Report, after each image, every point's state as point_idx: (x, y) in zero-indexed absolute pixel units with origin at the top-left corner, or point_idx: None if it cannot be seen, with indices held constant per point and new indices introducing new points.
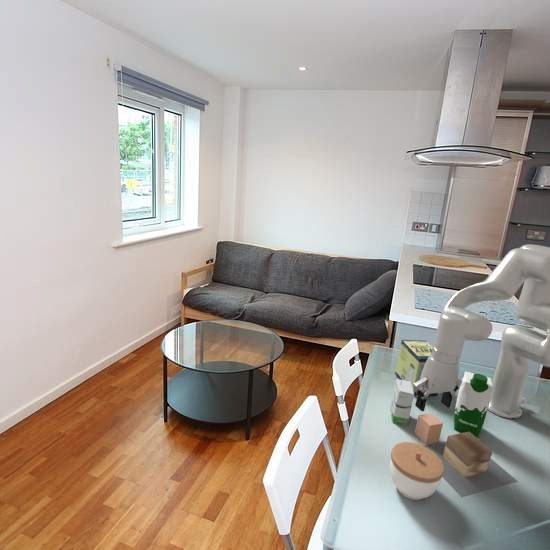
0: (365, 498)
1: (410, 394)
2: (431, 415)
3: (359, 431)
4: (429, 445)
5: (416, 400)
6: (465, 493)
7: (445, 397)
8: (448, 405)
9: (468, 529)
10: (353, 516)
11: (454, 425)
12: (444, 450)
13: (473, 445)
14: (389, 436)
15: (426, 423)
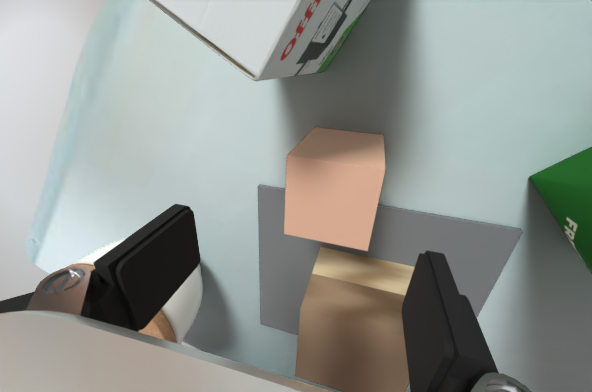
0: (84, 237)
1: (228, 60)
2: (361, 186)
3: (115, 39)
4: None
5: (149, 224)
6: (275, 325)
7: (421, 339)
8: (405, 327)
9: (226, 347)
10: (61, 250)
11: (547, 180)
12: (315, 262)
13: (352, 371)
14: (211, 103)
15: (286, 211)
